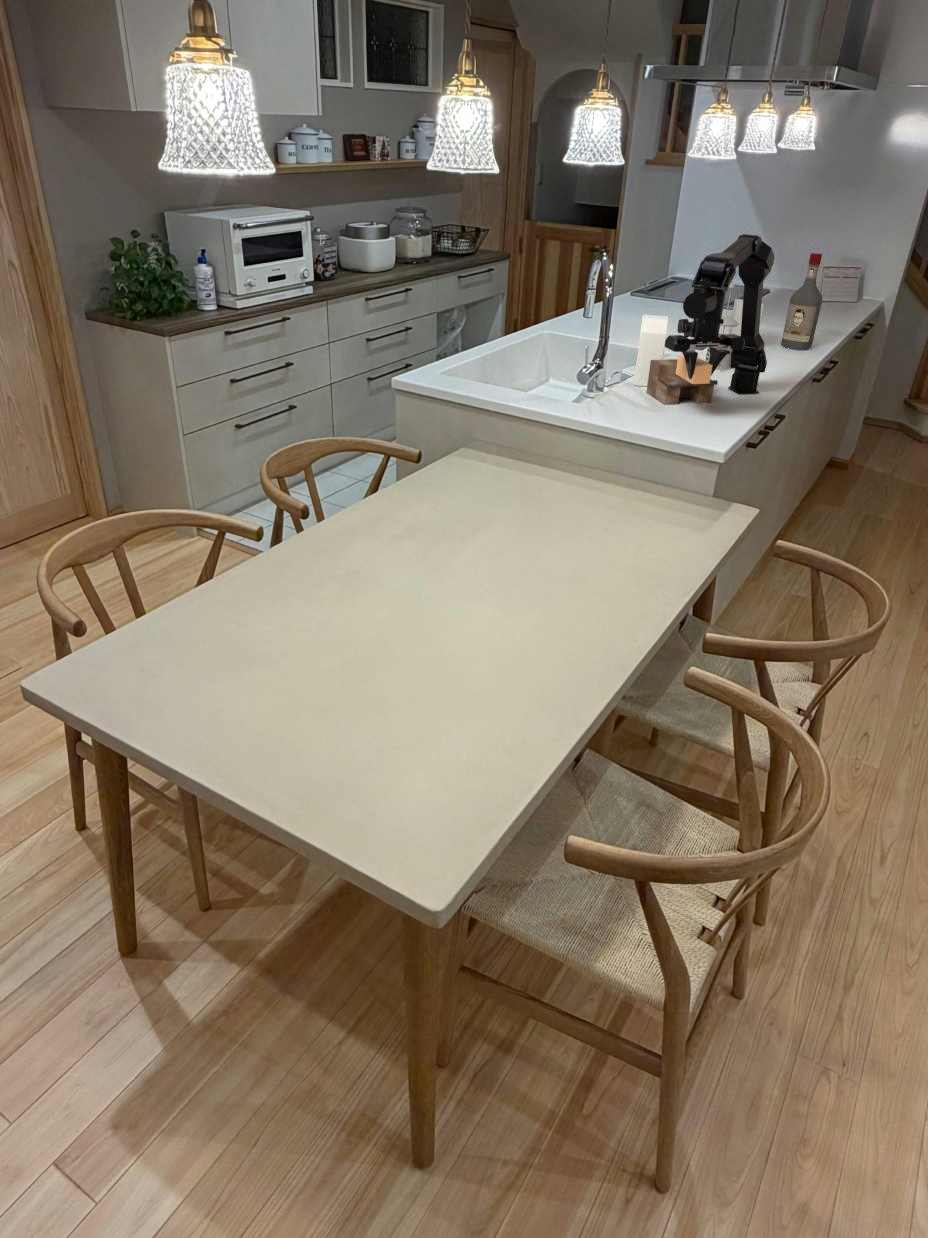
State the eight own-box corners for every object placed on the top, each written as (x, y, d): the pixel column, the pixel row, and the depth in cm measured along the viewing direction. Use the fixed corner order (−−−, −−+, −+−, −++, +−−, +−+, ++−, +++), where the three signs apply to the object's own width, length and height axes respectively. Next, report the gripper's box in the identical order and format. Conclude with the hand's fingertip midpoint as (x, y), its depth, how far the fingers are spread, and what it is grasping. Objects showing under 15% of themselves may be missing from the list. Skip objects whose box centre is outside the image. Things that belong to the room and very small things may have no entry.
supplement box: (755, 350, 286) (764, 304, 279) (728, 348, 288) (736, 302, 280) (752, 345, 294) (761, 299, 286) (726, 343, 295) (734, 298, 288)
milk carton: (658, 387, 241) (668, 318, 232) (633, 385, 242) (642, 316, 233) (658, 381, 247) (668, 313, 238) (634, 379, 248) (642, 312, 239)
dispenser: (692, 390, 239) (698, 358, 235) (713, 403, 228) (719, 370, 224) (644, 392, 236) (649, 359, 232) (664, 405, 225) (669, 371, 221)
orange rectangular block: (691, 373, 219) (694, 355, 216) (709, 383, 210) (712, 365, 208) (675, 373, 218) (678, 355, 215) (692, 383, 209) (695, 365, 207)
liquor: (786, 342, 298) (806, 251, 283) (812, 346, 294) (834, 253, 279) (778, 347, 292) (798, 253, 277) (805, 351, 288) (826, 256, 272)
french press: (715, 373, 258) (731, 286, 245) (690, 364, 267) (704, 280, 254) (739, 370, 262) (756, 284, 249) (714, 361, 271) (728, 278, 258)
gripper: (729, 305, 211) (718, 368, 219) (660, 306, 208) (651, 370, 215) (751, 314, 202) (739, 380, 210) (679, 315, 198) (669, 382, 206)
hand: (699, 378), depth 211 cm, fingers closed on orange rectangular block, 4 cm apart
